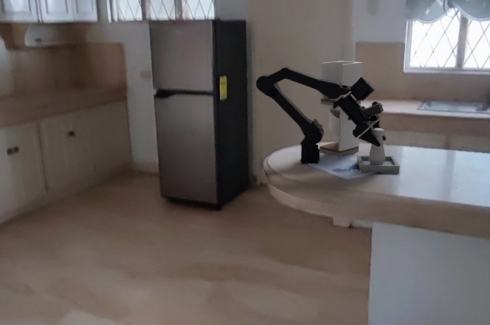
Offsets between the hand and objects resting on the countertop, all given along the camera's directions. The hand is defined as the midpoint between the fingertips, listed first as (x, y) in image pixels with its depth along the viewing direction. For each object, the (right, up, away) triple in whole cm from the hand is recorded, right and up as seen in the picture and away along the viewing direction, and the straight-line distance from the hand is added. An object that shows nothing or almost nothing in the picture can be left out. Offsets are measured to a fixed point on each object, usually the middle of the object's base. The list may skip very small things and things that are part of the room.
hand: (382, 143), depth 178 cm
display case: (-11, -2, +26) cm, 28 cm away
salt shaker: (-1, -8, +3) cm, 8 cm away
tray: (-1, -9, +3) cm, 9 cm away
